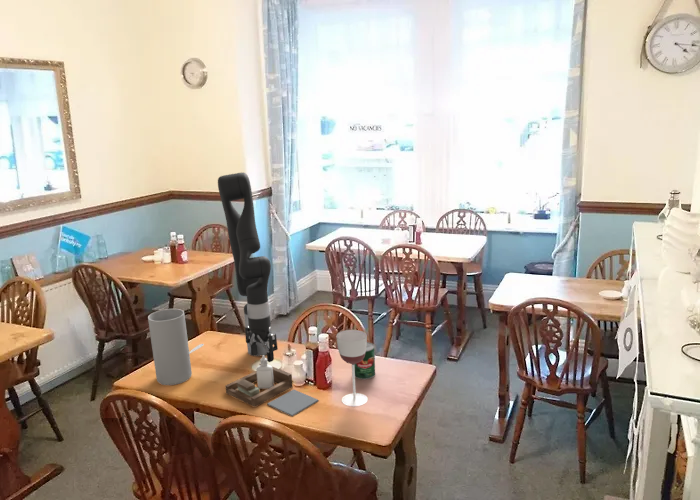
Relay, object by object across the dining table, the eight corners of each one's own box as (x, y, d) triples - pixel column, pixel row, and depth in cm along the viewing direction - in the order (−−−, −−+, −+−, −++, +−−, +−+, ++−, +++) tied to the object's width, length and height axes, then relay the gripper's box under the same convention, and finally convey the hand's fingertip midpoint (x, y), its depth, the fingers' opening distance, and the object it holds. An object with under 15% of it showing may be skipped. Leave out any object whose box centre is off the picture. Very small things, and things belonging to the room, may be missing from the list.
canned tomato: (361, 381, 202) (360, 352, 200) (349, 373, 209) (348, 345, 206) (379, 375, 206) (378, 347, 204) (367, 367, 213) (366, 340, 210)
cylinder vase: (150, 379, 211) (141, 316, 205) (180, 367, 220) (172, 306, 214) (168, 389, 203) (159, 324, 197) (198, 376, 212) (190, 313, 205)
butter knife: (206, 344, 240) (200, 343, 241) (163, 373, 216) (157, 371, 217) (206, 345, 240) (200, 344, 241) (164, 374, 216) (157, 373, 217)
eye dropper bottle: (268, 391, 198) (265, 359, 195) (255, 387, 201) (253, 356, 198) (276, 386, 202) (273, 354, 199) (264, 382, 205) (261, 351, 202)
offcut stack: (245, 390, 200) (244, 377, 199) (260, 398, 194) (259, 385, 193) (235, 394, 198) (234, 381, 196) (251, 402, 192) (250, 390, 190)
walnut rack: (263, 375, 210) (262, 362, 209) (292, 387, 200) (291, 374, 199) (225, 393, 198) (224, 380, 197) (254, 407, 188) (253, 393, 187)
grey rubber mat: (293, 390, 198) (293, 389, 198) (318, 401, 190) (318, 399, 190) (267, 404, 189) (267, 403, 189) (292, 416, 182) (292, 415, 181)
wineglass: (360, 409, 184) (357, 343, 178) (334, 402, 189) (330, 337, 183) (374, 396, 191) (372, 333, 186) (349, 390, 196) (346, 327, 191)
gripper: (280, 315, 193) (284, 359, 196) (254, 307, 202) (257, 349, 206) (263, 321, 187) (267, 367, 191) (237, 313, 197) (241, 356, 200)
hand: (262, 358), depth 198 cm, fingers open, 8 cm apart
